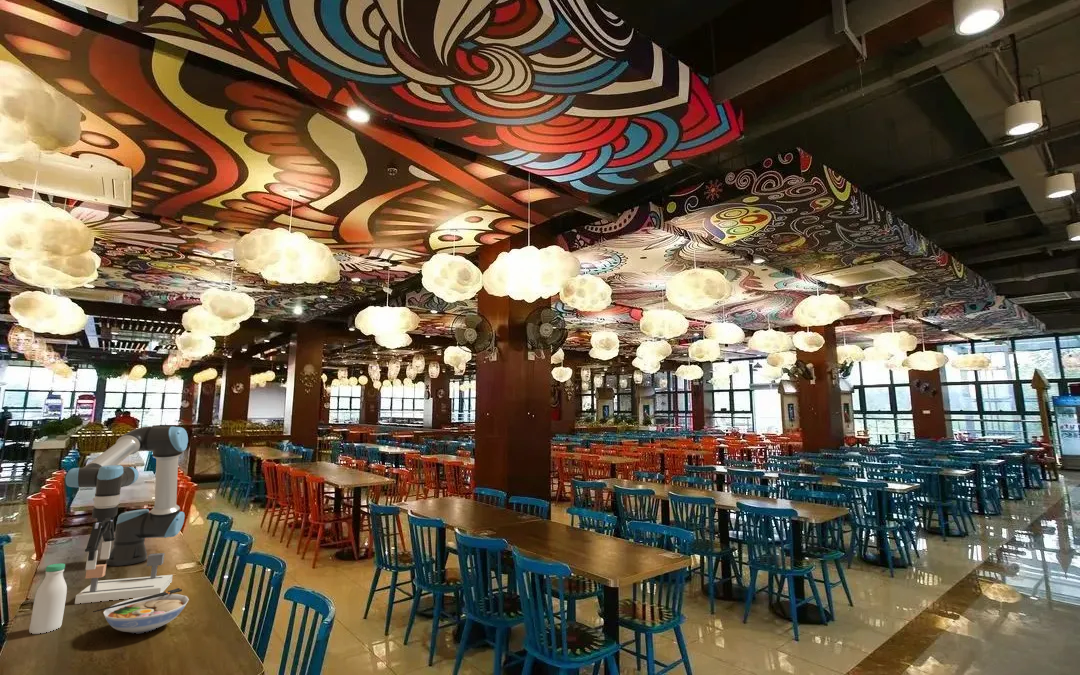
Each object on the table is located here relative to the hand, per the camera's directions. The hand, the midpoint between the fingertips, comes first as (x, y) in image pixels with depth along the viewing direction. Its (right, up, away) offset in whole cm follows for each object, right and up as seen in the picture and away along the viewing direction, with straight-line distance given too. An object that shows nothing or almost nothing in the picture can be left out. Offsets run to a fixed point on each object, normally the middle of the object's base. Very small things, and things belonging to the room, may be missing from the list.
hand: (97, 564), depth 194 cm
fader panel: (+6, -14, +6) cm, 17 cm away
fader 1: (0, -9, -2) cm, 10 cm away
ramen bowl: (+39, -10, -27) cm, 48 cm away
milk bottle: (+8, -9, -29) cm, 31 cm away
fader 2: (+10, -12, +15) cm, 22 cm away
